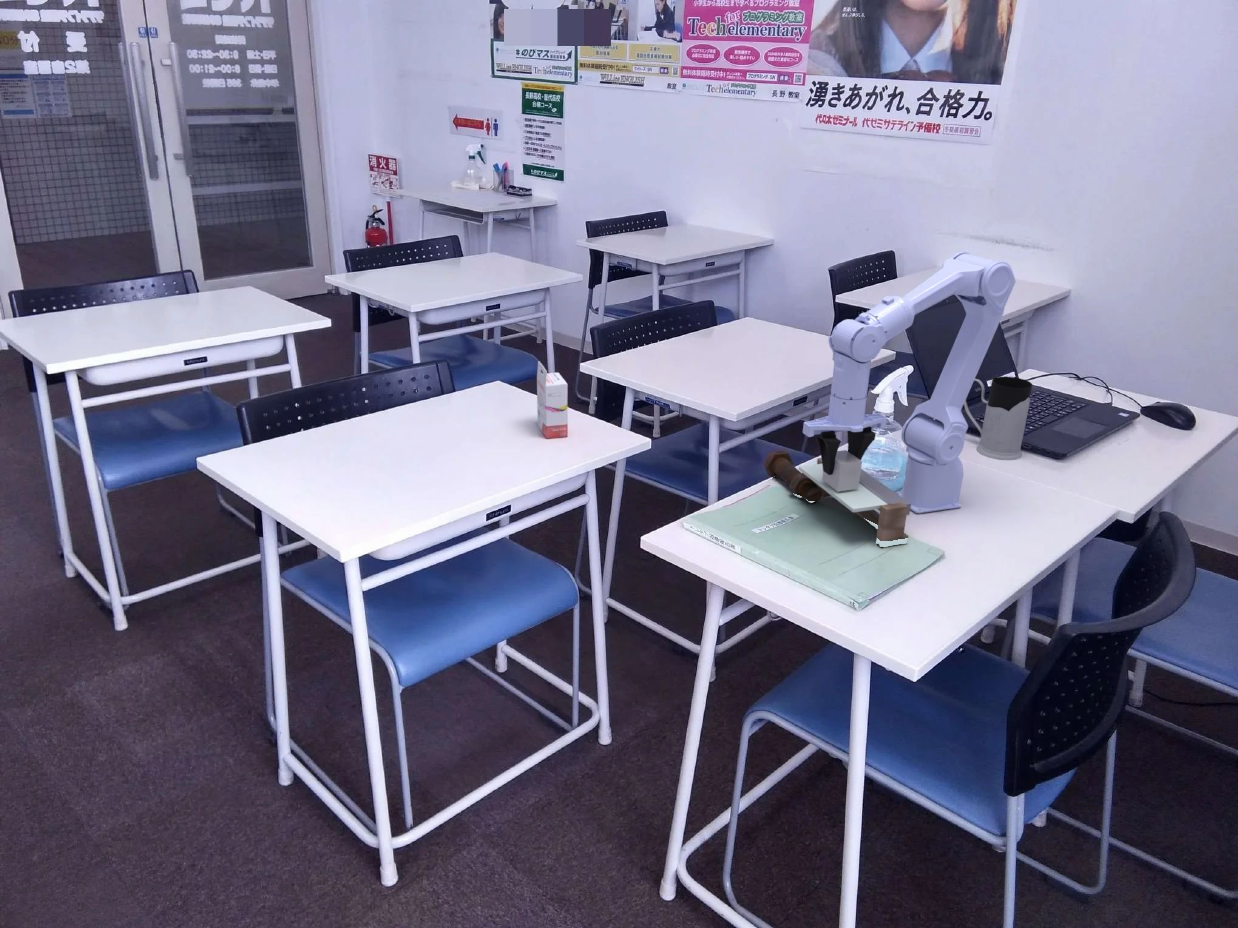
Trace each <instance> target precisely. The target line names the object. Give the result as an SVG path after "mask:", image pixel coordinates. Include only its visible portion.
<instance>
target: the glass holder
mask: <svg viewBox="0 0 1238 928" xmlns="http://www.w3.org/2000/svg"><path fill="white" fill-rule="evenodd" d="M974 382H977V383H978V384H979V385H980V387H981V396H980V397H981V401H982V403H984V404H986V407H985V408H986V409H985V412H984V419H983V423H982V428H981V426H980V425H979V424H978V422H977V421H976V420H975V418H974V416H973V415H972V413H971V412H970V409H969V407H968V403H967V399H966V400H965V402H964V405H963V407H964V410H965V412H966V415H967V416H968V417H969V419H970V420H971V421H972V424H973V425H974V426H975V427H976V428H977V430H978V431H979V433H980V439H979V440H980V441H979V444H978V445H977V446H976V451H977V453H979V454H981V455H982V456H984V457H987V458H990V459H992V460H993V459H994V460H998V461H999V460H1001V461H1014V460H1019V459H1020V458H1022V456H1023V455H1022V451H1021V450H1022V449H1021V447H1022V444H1023V439H1024V433H1025V428H1026V423H1027V417H1028V413H1029V408H1030V404H1031V393H1032V390H1033V389H1032V388H1033V383H1032V382H1031V381H1029V380H1026V379H1023V378H1020V377H1014V376H997V377H994V378H992V379H991V385H990V390H989V395H988V400H986V399H985V392H986V391H985V389H986V388H985V385H984V383H983V382H982V381H981V380H980V379H979V378H978V379H977V378H975V379H974Z"/></svg>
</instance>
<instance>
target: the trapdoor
mask: <svg viewBox="0 0 1238 928" xmlns="http://www.w3.org/2000/svg"><path fill="white" fill-rule="evenodd" d="M798 470H799V471H800V472H801V473H804V474H805V475H806V476H807V477H809V478H810V479H811V480H812V481H814V482H815V483H816V484H818V485H819V486H820V487H821V488H823V489H824V490H825V491H826V492H828V493H829V494H830V496H831V497H832V498H834V499H835V500H837V502H839V503H840V504H841V505H843V506H844V507H845V508H847V509H848V510H849V511H850V512H852V513H855V512H860V511H867V510H878V511H879V512H880V508H881V505H887V504H894V503H901V502H902V503H904V504H905V505H906V506H908V509H907V515H906V516H910V514H911V509H910V508H911V503H909V502H908V501H906V500H905V499H904V498H902V497H901V496H899V495H898V494H897V492H895V491H894V490H892V489H891V488H889V487H888V486H887V485H886V484H884V483H882V482H881V481H879V479H877V478H875V477H874V476H873V475H871V474H870V473H869V472H867V471H866V470H865V469H863V468H861V473H860V481H859V488H858V489H853V490H846V491H839V492H837V491H836V490H835V489H833V488H832V487H831V486H830V485H828V484H827V483H826V482H824V481H823V480H822V476H823V465H822V464H817V463H816V464H809V465H802V466H798Z"/></svg>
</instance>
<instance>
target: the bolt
mask: <svg viewBox="0 0 1238 928" xmlns="http://www.w3.org/2000/svg"><path fill="white" fill-rule="evenodd" d="M794 464H795V463H794V461H793V459H792V457H791V455H790V453H789V451H787V450H783V449H782V450H781V449H780V450H774V451H772V452H770V453H769V454H768V456H767V457H766V459H765V460H764V464H763V466H764V469H765V471H766V473H767V475H768V476H769V477H771V478H777V476H779V478H780V479H782V480H783V481H784V482H785V483H786V484H787V485H788V486H789V488H790V491H791V493H792V494H793V493H794V494H797V495H800V496H802V497H803V498H802V499H804V498H805V499H807V500H808V501H815V502H816V503H818V502H819V501H820V500H821V499H822V491H821V489H820V488H818V487H817V485H816V483H815V482H814V481H812V480H811V479H810V478H809V477H807V476H806V475H805V474H804V473H802V472H801V471H800V470H799V468H796V466H794ZM805 499H804V500H805Z"/></svg>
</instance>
